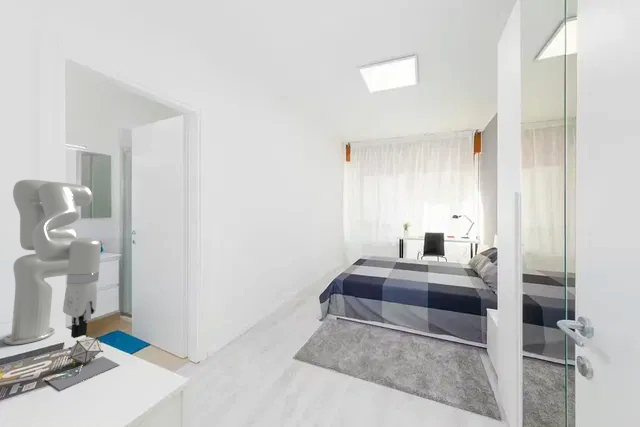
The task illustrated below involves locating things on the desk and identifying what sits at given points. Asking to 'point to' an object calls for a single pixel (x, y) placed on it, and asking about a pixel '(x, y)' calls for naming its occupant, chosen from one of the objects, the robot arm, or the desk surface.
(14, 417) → the desk surface
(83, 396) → the desk surface
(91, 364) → the charcoal mat
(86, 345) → the game die
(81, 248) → the robot arm
